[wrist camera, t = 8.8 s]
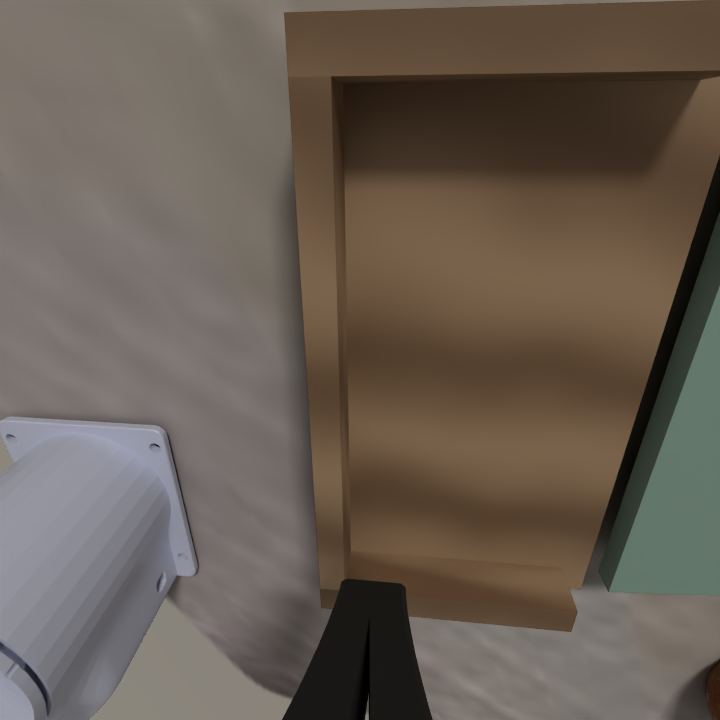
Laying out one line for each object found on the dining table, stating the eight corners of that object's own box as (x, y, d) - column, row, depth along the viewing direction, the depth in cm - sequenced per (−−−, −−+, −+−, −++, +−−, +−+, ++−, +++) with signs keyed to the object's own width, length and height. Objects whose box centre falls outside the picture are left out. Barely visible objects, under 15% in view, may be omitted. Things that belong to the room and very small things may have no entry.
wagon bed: (566, 551, 21) (597, 634, 18) (335, 532, 22) (321, 607, 19) (712, 36, 12) (833, -4, 9) (317, 44, 13) (284, 12, 10)
